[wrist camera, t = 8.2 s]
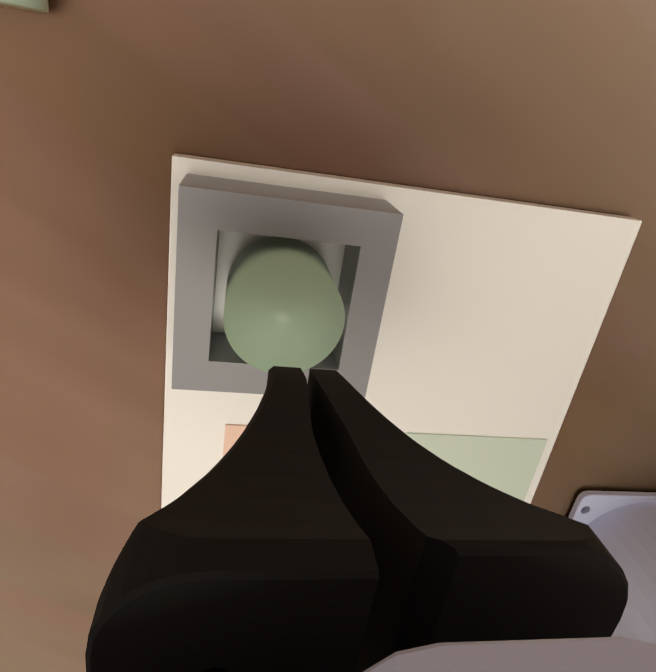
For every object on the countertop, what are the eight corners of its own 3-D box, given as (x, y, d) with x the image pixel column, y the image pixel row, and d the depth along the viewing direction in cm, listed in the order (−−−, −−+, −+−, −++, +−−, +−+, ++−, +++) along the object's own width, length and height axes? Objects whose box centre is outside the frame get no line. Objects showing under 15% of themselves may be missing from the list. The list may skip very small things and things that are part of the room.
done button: (323, 339, 20) (334, 377, 18) (222, 331, 20) (219, 369, 17) (338, 243, 19) (354, 269, 16) (230, 230, 18) (228, 255, 15)
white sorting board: (493, 569, 30) (519, 621, 27) (161, 571, 26) (151, 630, 23) (629, 216, 22) (687, 236, 19) (174, 153, 18) (161, 165, 15)
